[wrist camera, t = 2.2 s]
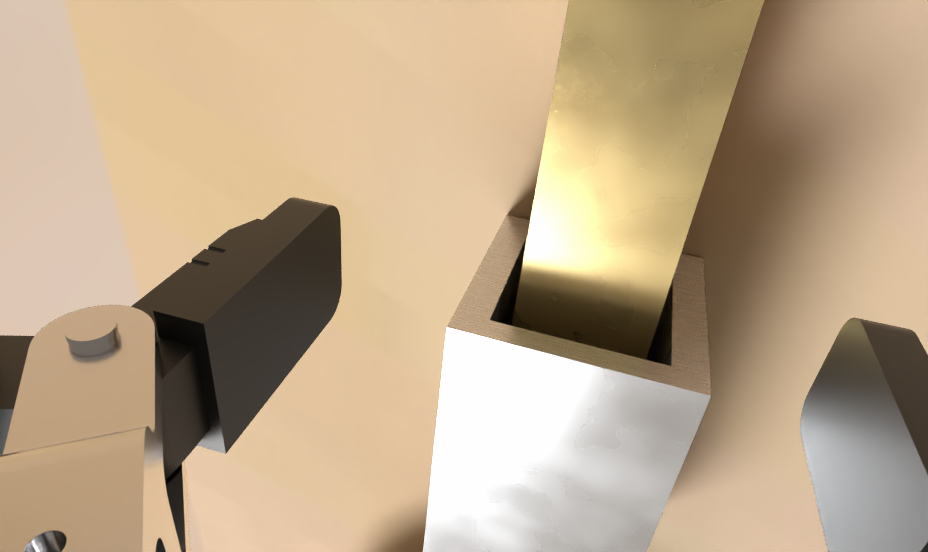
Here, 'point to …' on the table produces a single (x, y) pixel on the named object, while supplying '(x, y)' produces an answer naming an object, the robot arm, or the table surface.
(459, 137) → the table surface
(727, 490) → the table surface
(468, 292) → the sleeve
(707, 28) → the rod
